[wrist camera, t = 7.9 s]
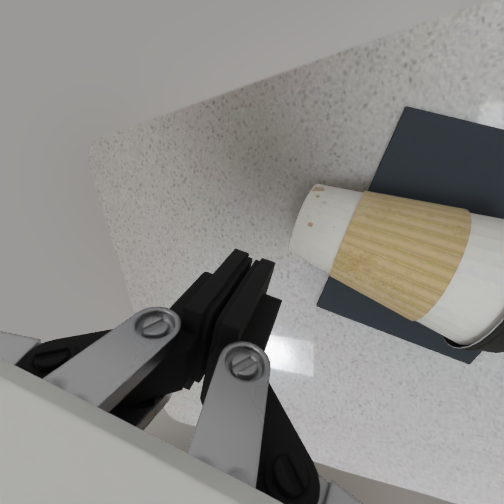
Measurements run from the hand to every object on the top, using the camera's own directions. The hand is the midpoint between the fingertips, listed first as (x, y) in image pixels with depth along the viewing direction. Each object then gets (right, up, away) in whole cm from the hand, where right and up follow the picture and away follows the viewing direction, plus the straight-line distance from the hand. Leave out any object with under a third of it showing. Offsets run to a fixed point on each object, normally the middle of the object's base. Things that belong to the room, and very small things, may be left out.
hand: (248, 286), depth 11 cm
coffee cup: (+4, +4, +12) cm, 13 cm away
